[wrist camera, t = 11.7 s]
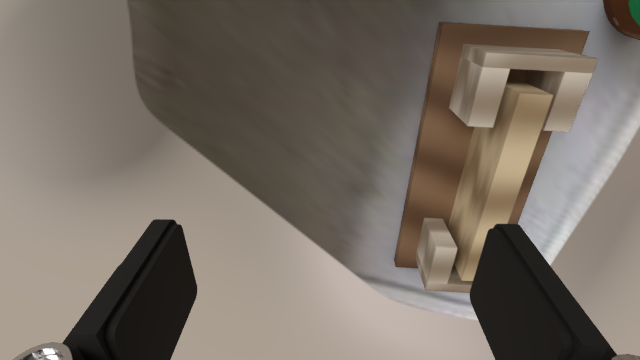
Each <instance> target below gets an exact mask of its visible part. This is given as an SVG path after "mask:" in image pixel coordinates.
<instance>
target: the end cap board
mask: <svg viewBox="0 0 640 360" xmlns="http://www.w3.org/2000/svg"><path fill="white" fill-rule="evenodd" d="M589 32H590V31H583V30H569V29H551V28H534V27H516V26H498V25H481V24H463V23H446V22H439V27H438V32H437V37H436V43H435V48H434V53H433V58H432V64H431V69H430V74H429V79H428V85H427V90H426V95H425V100H424V106H423V111H422V116H421V122H420V127H419V132H418V137H417V143H416V148H415V153H414V158H413V164H412V169H411V174H410V179H409V185H408V190H407V195H406V200H405V206H404V211H403V216H402V221H401V227H400V232H399V237H398V242H397V248H396V253H395V258H394V261H395V266H396V267H406V268H419V271H420V274H421V278H422V281H423V284H424V287H425V290H430V291H447V292H464V293H470V289H471V286H472V283H473V281H462V280H461V278H460V276H459V274H458V272H457V269H456V267H455V265H454V259H455V256H456V252H457V249H458V248H457V246H456V244H455V242H454V240H453V238H452V236H451V234H450V232H449V230H448V225H449V221H450V217H451V213H452V210H453V206H454V202H455V198H456V194H457V191H458V187H459V183H460V179H461V175H462V172H463V168H464V164H465V160H466V157H467V153H468V149H469V145H470V141H471V138H472V134H473V130H474V127H491V128H493V126H494V122H495V119H496V116H497V112H498V109H499V105H500V102H501V98H502V95H503V92H504V88H505V85H506V81H507V78H516V79H519V80H521V81H523V82H525V83H527V84H530V85H532V86H534V87H536V88H538V89H541V90H543V91H545V92H547V93H549V94H552V95H553V98H552V100H551V103H550V106H549V109H548V112H547V114H546V117H545V120H544V123H543V126H542V128H541V131H540V134H539V137H538V140H537V142H536V145H535V148H534V151H533V154H532V156H531V159H530V162H529V165H528V168H527V170H526V173H525V176H524V179H523V182H522V184H521V187H520V190H519V193H518V196H517V198H516V201H515V204H514V207H513V210H512V212H511V215H510V218H509V221H508V223H507V224H518V221H519V218H520V216H521V213H522V210H523V208H524V205H525V202H526V200H527V197H528V194H529V192H530V189H531V186H532V184H533V181H534V178H535V176H536V173H537V170H538V168H539V165H540V162H541V160H542V157H543V154H544V152H545V149H546V146H547V144H548V141H549V138H550V136H551V133H552V131H560V132H569V131H570V129H571V126H572V124H573V121H574V119H575V116H576V114H577V111H578V109H579V106H580V104H581V101H582V99H583V96H584V94H585V91H586V89H587V86H588V84H589V81H590V79H591V76H592V74H593V71H594V69H595V66H596V64H597V61H598V59H596V58H592V57H588V56H584V55H581V53H582V51H583V48H584V45H585V43H586V40H587V37H588V35H589Z"/></svg>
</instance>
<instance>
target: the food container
mask: <svg viewBox="0 0 640 360" xmlns="http://www.w3.org/2000/svg"><path fill="white" fill-rule="evenodd" d="M603 3H604V8H605V12H606V15H607V17H608V19H609V21H610V22H611V24H612V25H613V26H614V27H615V28H616V29H617V30H618V31H619V32H621V33H623V34H624V35H626V36H629V37H632V38H635V39H638V40H640V0H603Z"/></svg>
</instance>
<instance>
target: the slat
mask: <svg viewBox="0 0 640 360" xmlns="http://www.w3.org/2000/svg"><path fill="white" fill-rule="evenodd" d="M552 98H553V95H552V94H549V93H547V92H545V91H543V90H541V89H538V88H536V87H534V86H532V85H530V84H527V83H525V82H523V81H521V80H519V79H516V78H507V81H506V85H505V88H504V92H503V95H502V98H501V102H500V105H499V109H498V112H497V116H496V119H495V122H494V126H493V128H491V127H474V130H473V134H472V138H471V141H470V145H469V149H468V153H467V157H466V160H465V164H464V168H463V172H462V175H461V179H460V183H459V187H458V191H457V194H456V198H455V202H454V206H453V210H452V213H451V217H450V221H449V225H448V230H449V232H450V234H451V236H452V238H453V240H454V242H455V244H456V246H457V248H458V249H457V252H456V256H455V259H454V265H455V267H456V269H457V272H458V274H459V276H460V278H461V280H462V281H473V279H474V276H475V273H476V269H477V266H478V262H479V259H480V256H481V252H482V249H483V246H484V242H485V239H486V236H487V232H488V230H489V229H491V228H494V226H495V225H496V224H507V223H508V221H509V218H510V215H511V212H512V210H513V207H514V204H515V201H516V198H517V196H518V193H519V190H520V187H521V184H522V182H523V179H524V176H525V173H526V170H527V168H528V165H529V162H530V159H531V156H532V154H533V151H534V148H535V145H536V142H537V140H538V137H539V134H540V131H541V128H542V126H543V123H544V120H545V117H546V114H547V112H548V109H549V106H550V103H551V100H552Z"/></svg>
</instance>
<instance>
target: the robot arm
mask: <svg viewBox="0 0 640 360" xmlns="http://www.w3.org/2000/svg"><path fill="white" fill-rule="evenodd" d="M196 295H197V284H196V280H195V277H194V273H193V269H192V265H191V261H190V257H189V253H188V249H187V245H186V241H185V237H184V233H183V229H182V226H181V225H177V223H176V222H175V220H153V221H152V222H151V224H150V225H149V226H148V228H147V229H146V230H145V232H144V233H143V235H142V236H141V238H140V239H139V240H138V242H137V243H136V244H135V246H134V247H133V249H132V250H131V251H130V253H129V254H128V255H127V257H126V258H125V260H124V261H123V262H122V264H121V265H119V266H118V267H117V269H116V270H115V271H114V273H113V274H112V276H111V277H110V278H109V280H108V281H107V282H106V284H105V285H104V287H103V288H102V289H101V291H100V292H99V293H98V295H97V296H96V298H95V299H94V300H93V302H92V303H91V304H90V306H89V307H88V309H87V310H86V311H85V313H84V314H83V315H82V317H81V318H80V320H79V321H78V322H77V324H76V325H75V327H74V328H73V329H72V331H71V332H70V333H69V335H68V336H67V337H66V339H65V340H64V342H63V343H54V342H52V343H46V344H41V345H38V346H36V347H33V348H30V349H29V350H27V351H25V352H23V353H22V354H20V355H18V356H17V357H16V358H14V359H13V360H170V359H171V356H172V354H173V352H174V349H175V347H176V345H177V342H178V340H179V337H180V335H181V332H182V330H183V328H184V325H185V323H186V320H187V318H188V315H189V313H190V311H191V308H192V306H193V304H194V301H195V298H196ZM470 300H471V304H472V306H473V308H474V311H475V313H476V315H477V318H478V320H479V322H480V325H481V327H482V329H483V332H484V334H485V336H486V339H487V341H488V343H489V346H490V348H491V350H492V353H493V355H494V357H495V360H640V356H635V355H630V354H625V355H624V354H623V355H617V354H616V353H615V352H614V351H613V349H612V348H611V346H610V345H609V344H608V342H607V341H606V340H605V338H604V337H603V336H602V334H601V333H600V332H599V330H598V329H597V328H596V326H595V325H594V324H593V322H592V321H591V320H590V318H589V317H588V316H587V314H586V313H585V312H584V310H583V309H582V308H581V306H580V305H579V304H578V302H577V301H576V300H575V298H574V297H573V296H572V294H571V293H570V292H569V290H568V289H567V288H566V287H565V285H564V284H563V282H562V281H561V280H560V279H559V277H558V276H557V275H556V273H555V272H554V271H553V269H552V268H551V267H550V265H549V264H548V263H547V261H546V260H545V259H544V257H543V256H542V255H541V253H540V252H539V251H538V249H537V248H536V247H535V245H534V244H533V243H532V241H531V240H530V239H529V237H528V236H527V235H526V233H525V232H524V231H523V229H522V228H521V227H520V226H519V225H518V224H496V225H495V226H494V228H491V229H489V230H488V232H487V236H486V239H485V242H484V246H483V249H482V252H481V256H480V259H479V262H478V266H477V269H476V273H475V276H474V279H473V283H472V286H471V289H470Z"/></svg>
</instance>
